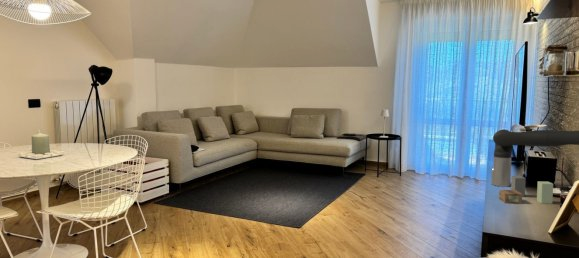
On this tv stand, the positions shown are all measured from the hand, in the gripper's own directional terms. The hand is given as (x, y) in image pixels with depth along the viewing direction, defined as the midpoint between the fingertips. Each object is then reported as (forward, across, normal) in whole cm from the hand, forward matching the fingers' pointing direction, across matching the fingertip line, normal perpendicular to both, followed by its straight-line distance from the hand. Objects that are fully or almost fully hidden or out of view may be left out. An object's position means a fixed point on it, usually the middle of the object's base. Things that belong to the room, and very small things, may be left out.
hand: (564, 190), depth 198 cm
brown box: (+25, 0, +6) cm, 26 cm away
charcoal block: (+17, -12, +6) cm, 22 cm away
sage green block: (+9, 0, +6) cm, 11 cm away
